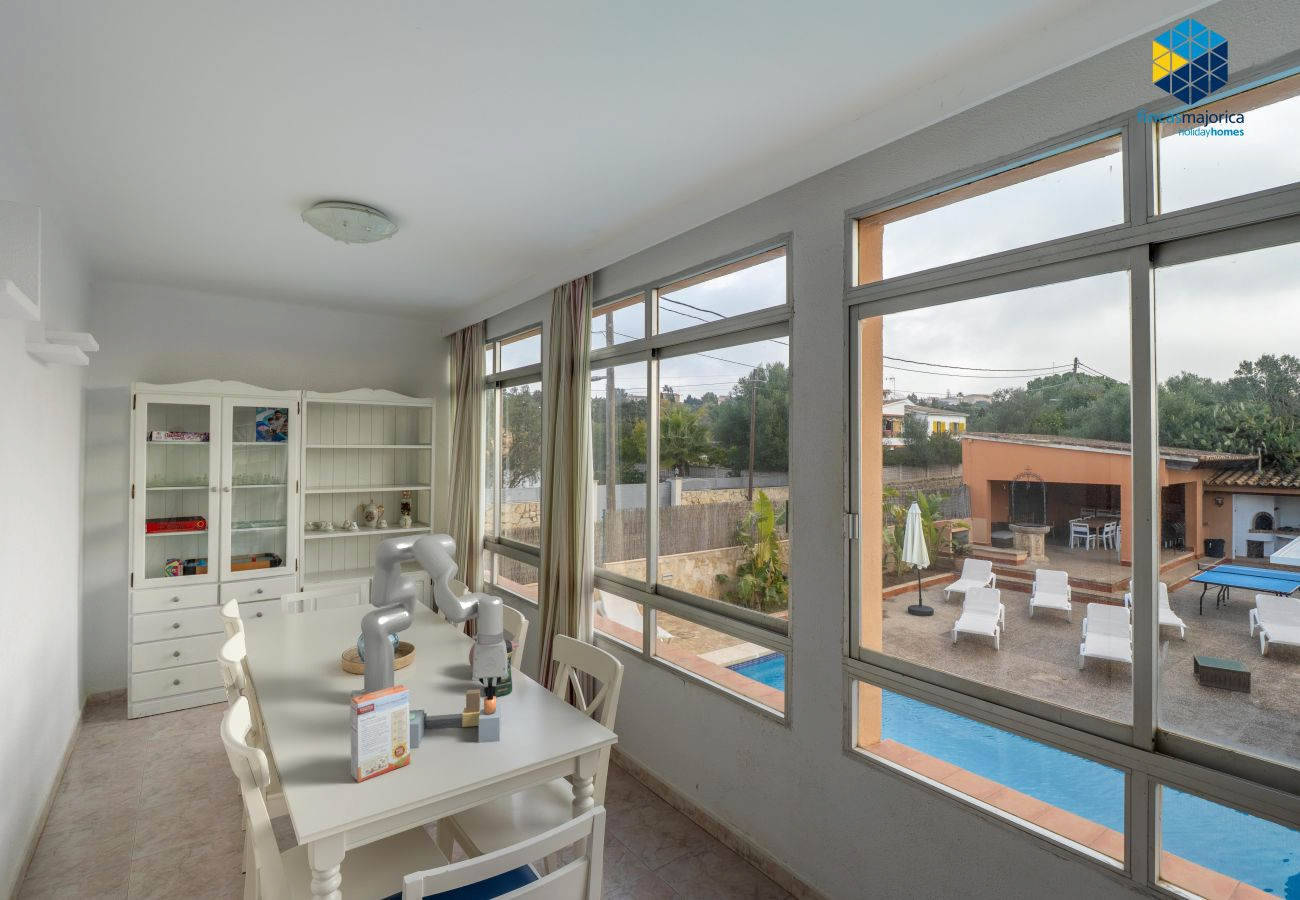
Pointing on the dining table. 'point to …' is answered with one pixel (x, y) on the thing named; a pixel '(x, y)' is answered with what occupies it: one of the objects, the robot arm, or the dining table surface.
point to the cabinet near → (416, 727)
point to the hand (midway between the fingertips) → (490, 698)
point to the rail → (442, 721)
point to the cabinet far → (490, 725)
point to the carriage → (471, 709)
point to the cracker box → (379, 732)
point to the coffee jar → (505, 684)
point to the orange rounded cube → (489, 705)
